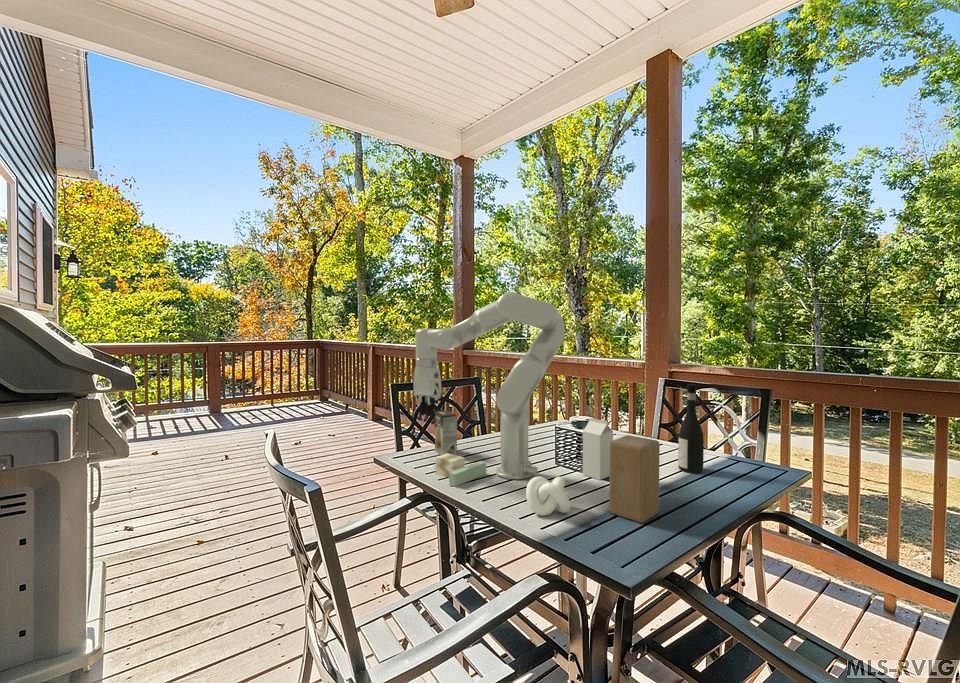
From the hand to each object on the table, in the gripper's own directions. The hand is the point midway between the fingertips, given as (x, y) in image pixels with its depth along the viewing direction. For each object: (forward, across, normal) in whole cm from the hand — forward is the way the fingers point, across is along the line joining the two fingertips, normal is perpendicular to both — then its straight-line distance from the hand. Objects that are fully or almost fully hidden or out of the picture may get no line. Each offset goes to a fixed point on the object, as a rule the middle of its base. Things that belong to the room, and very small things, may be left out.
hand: (427, 414), depth 163 cm
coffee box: (+19, +8, -18) cm, 28 cm away
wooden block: (+19, -72, -7) cm, 75 cm away
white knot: (+19, -53, +5) cm, 57 cm away
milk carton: (+19, -51, -30) cm, 62 cm away
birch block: (+19, -11, 0) cm, 22 cm away
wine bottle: (+19, -74, -55) cm, 94 cm away
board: (+19, -19, 0) cm, 27 cm away
